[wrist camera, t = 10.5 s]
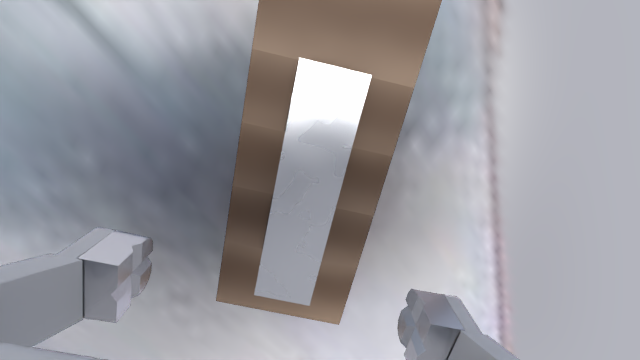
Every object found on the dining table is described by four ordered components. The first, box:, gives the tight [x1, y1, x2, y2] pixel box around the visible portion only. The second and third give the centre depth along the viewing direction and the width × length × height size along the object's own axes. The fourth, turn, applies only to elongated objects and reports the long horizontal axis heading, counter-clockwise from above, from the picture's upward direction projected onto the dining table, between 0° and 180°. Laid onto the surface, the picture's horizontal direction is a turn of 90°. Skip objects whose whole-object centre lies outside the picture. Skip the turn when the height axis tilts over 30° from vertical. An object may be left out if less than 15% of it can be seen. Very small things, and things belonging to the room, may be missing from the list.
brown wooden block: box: [216, 0, 442, 325], centre depth 20 cm, size 22×9×3 cm, turn 167°
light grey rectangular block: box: [254, 58, 371, 306], centre depth 18 cm, size 12×3×8 cm, turn 167°
